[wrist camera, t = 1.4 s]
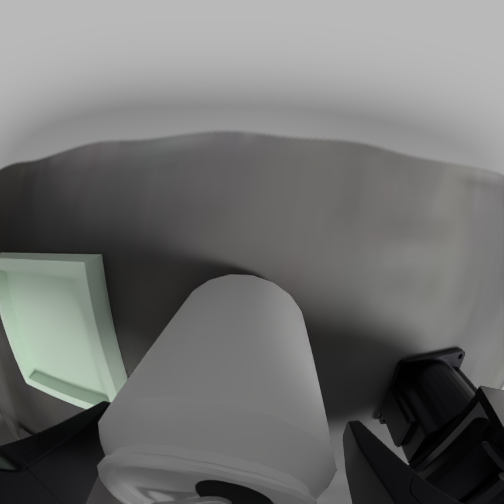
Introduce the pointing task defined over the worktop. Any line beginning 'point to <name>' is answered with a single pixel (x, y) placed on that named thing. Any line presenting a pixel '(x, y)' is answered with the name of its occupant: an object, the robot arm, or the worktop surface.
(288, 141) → the worktop surface
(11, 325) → the tray
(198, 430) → the can
